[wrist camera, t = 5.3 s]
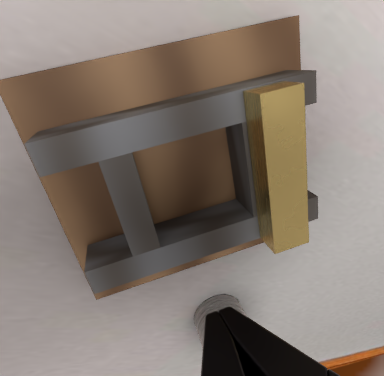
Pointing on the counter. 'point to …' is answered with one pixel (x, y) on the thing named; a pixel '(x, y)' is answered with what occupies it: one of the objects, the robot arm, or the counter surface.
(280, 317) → the counter surface
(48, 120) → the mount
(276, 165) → the bar
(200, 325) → the metal canister
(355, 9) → the counter surface
